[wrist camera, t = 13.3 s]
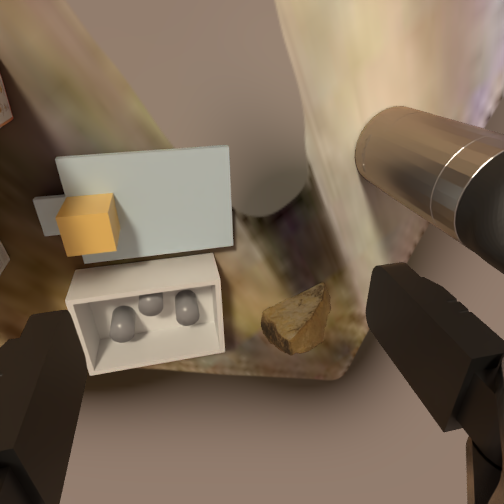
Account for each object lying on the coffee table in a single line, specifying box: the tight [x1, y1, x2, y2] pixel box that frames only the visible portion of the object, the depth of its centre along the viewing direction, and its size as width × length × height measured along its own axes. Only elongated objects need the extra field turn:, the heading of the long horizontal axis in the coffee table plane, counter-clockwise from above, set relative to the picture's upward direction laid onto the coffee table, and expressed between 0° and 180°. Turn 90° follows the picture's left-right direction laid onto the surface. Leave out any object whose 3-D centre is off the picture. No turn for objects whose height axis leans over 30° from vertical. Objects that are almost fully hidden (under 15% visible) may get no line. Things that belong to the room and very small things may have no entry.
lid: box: [33, 145, 233, 264], centre depth 38 cm, size 20×12×7 cm, turn 90°
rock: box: [261, 283, 331, 355], centre depth 51 cm, size 11×9×10 cm
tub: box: [65, 253, 225, 376], centre depth 45 cm, size 16×11×6 cm
